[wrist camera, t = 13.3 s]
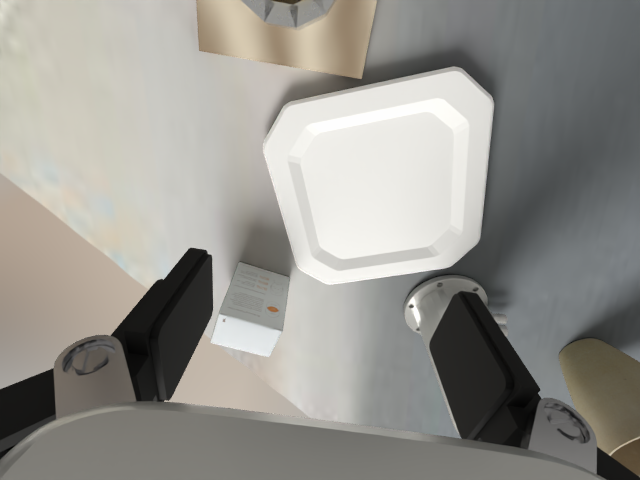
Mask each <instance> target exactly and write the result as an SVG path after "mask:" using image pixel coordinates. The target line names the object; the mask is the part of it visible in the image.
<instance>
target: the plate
mask: <svg viewBox="0 0 640 480" xmlns="http://www.w3.org/2000/svg"><path fill="white" fill-rule="evenodd" d="M493 112H494V101H493V98H492V96H491V95H490V94H489V93H488V92H487V91H486V90H485V89H483V88H482V87H481V86H480V85H479V84H478V83H477V82H476V81H475V80H474V79H473V78H472V77H471V76H470V75H468V74H467V73H466V72H465V71H464V70H463V69H462V68H459V67H455V66H453V67H448V68H444V69H439V70H434V71H430V72H425V73H420V74H416V75H411V76H406V77H402V78H397V79H392V80H388V81H383V82H378V83H374V84H369V85H364V86H360V87H355V88H350V89H346V90H341V91H336V92H332V93H327V94H322V95H318V96H313V97H308V98H304V99H299V100H294V101H290V102H288V103H287V104H286V105H284V106H283V108H282V110H281V111H280V113H279V115H278V117H277V119H276V120H275V122H274V124H273V126H272V127H271V129H270V131H269V133H268V135H267V136H266V138H265V140H264V142H263V152H264V156H265V159H266V163H267V166H268V170H269V173H270V176H271V180H272V183H273V187H274V190H275V194H276V197H277V200H278V204H279V207H280V211H281V214H282V218H283V221H284V224H285V228H286V231H287V235H288V238H289V242H290V245H291V248H292V252H293V255H294V259H295V262H296V266H297V267H298V268H299V270H301V271H303V272H305V273H306V274H308V275H310V276H312V277H314V278H316V279H318V280H320V281H321V282H323V283H325V284H330V285H332V284H339V283H346V282H353V281H360V280H367V279H374V278H381V277H388V276H395V275H402V274H409V273H416V272H423V271H430V270H437V269H444V268H448V267H450V266H453V265H454V264H455V263H456V262H457V261H458V260H459V259H460V258H462V257H463V256H464V255H465V254H466V253H467V252H468V251H470V250H471V249H472V248H473V247H474V246H475V245H476V244H478V242H479V240H480V237H481V227H482V218H483V208H484V199H485V189H486V179H487V170H488V160H489V150H490V141H491V131H492V121H493Z"/></svg>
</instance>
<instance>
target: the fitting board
mask: <svg viewBox="0 0 640 480" xmlns="http://www.w3.org/2000/svg"><path fill="white" fill-rule="evenodd" d="M196 1H197V20H198V39H199V51H204V52H209V53H215V54H221V55H226V56H232V57H238V58H244V59H249V60H255V61H261V62H267V63H272V64H278V65H284V66H289V67H295V68H301V69H307V70H312V71H318V72H324V73H330V74H335V75H341V76H347V77H352V78H358V79H362V74H363V69H364V64H365V59H366V54H367V49H368V44H369V39H370V34H371V29H372V23H373V18H374V13H375V8H376V3H377V0H337V1H336V2H335V4H334V6H333V7H332V9H331V10H330V12H329V13H328V15H327V16H326V18H324V19H322V20H320V21H318V22H316V23H314V24H312V25H310V26H308V27H305V28H303V29H301V30H299V31H297V30H292V29H287V28H281V27H276V26H270V25H268V24H267V23H265V22H264V21H263V20H262V19H261V18H260V17H259V16H257V15H256V14H255V13H254V12H253V11H252V10H251V9H250V8H249V7H248V6H247V5H245V4H244V3H243V2H242V1H241V0H196ZM271 1H276V2H282V3H287V4H292V5H294V4H296V3H298V2H300V1H302V0H271Z"/></svg>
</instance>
